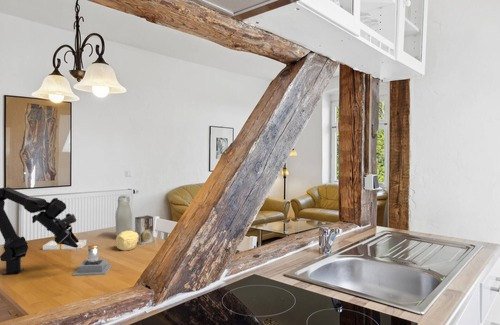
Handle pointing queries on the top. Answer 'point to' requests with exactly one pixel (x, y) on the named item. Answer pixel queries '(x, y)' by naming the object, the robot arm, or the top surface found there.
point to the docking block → (93, 268)
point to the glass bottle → (123, 215)
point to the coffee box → (144, 229)
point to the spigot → (93, 255)
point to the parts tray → (53, 245)
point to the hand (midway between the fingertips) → (77, 244)
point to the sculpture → (127, 240)
